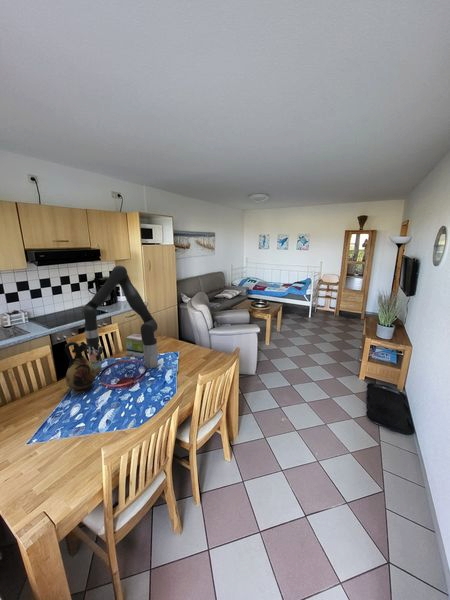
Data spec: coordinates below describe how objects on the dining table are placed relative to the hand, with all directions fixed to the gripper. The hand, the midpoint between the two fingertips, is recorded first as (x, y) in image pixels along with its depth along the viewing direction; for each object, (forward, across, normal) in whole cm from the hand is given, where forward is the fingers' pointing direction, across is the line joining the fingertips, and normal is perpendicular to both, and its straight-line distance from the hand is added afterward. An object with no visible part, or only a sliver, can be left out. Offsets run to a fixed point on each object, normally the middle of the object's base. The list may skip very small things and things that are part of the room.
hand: (95, 359), depth 162 cm
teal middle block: (+6, 0, 0) cm, 6 cm away
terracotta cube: (+1, 0, 0) cm, 1 cm away
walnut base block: (+10, 0, 0) cm, 10 cm away
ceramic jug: (+10, -5, +18) cm, 21 cm away
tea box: (+10, -10, -33) cm, 36 cm away
